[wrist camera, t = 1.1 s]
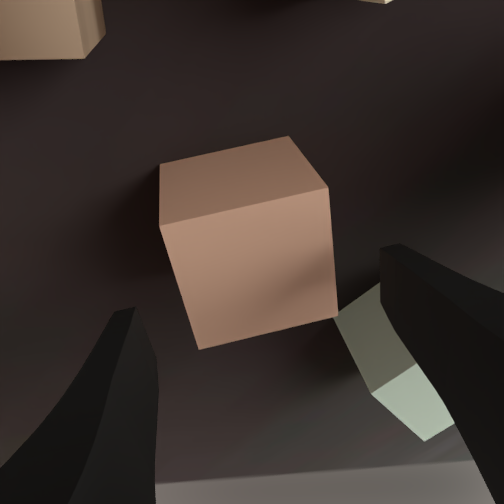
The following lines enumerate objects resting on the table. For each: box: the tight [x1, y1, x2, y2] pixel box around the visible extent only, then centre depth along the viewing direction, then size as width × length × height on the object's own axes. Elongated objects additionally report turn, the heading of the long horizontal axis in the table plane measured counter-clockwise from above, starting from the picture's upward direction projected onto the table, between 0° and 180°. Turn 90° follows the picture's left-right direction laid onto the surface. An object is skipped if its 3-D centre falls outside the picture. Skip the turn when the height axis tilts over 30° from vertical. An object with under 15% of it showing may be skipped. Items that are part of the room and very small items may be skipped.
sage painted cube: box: [333, 283, 454, 441], centre depth 21 cm, size 5×5×5 cm
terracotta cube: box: [159, 136, 338, 350], centre depth 16 cm, size 5×5×5 cm
